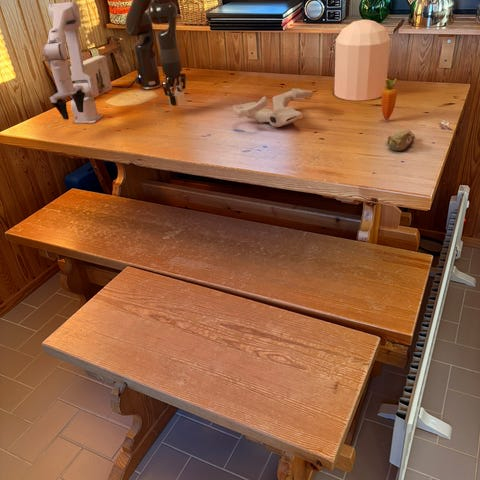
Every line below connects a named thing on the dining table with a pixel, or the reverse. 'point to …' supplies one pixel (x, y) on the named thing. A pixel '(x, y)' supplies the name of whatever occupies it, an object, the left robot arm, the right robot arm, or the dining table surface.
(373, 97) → the container
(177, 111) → the dining table surface
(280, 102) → the animal horns
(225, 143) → the dining table surface
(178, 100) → the pale beige block
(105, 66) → the skincare box
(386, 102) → the carrot
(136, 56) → the right robot arm
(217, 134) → the dining table surface
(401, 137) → the rock
